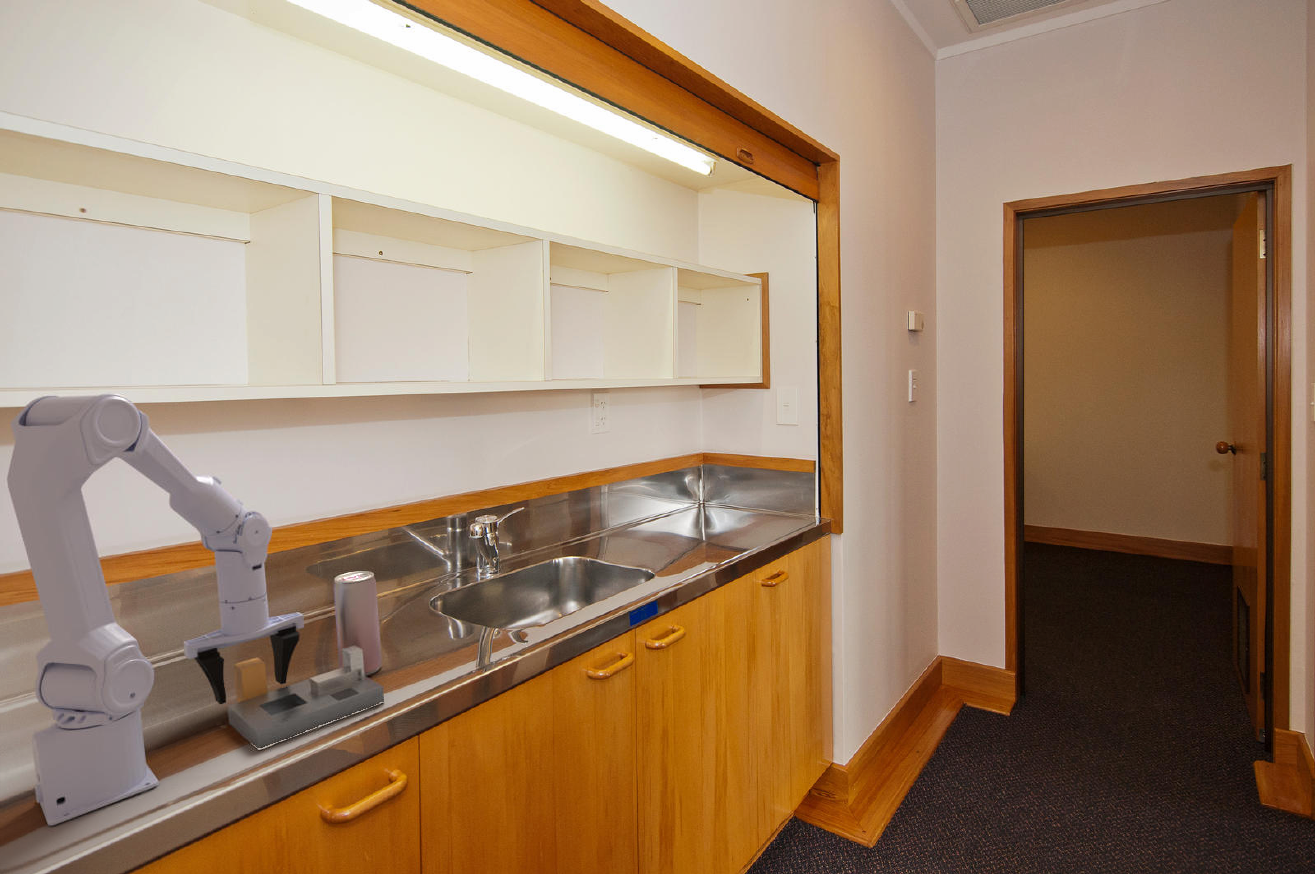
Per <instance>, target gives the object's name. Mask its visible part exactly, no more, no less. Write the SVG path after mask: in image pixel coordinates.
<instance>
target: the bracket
mask: <svg viewBox="0 0 1315 874" xmlns="http://www.w3.org/2000/svg"><path fill="white" fill-rule="evenodd" d="M342 655H343V667H342V668H340V667H339V668H337V669H334V670H331V671H327V672H325V673H324V672H323V673H321V674H318V675H315V676H313V677H309V679H310V685H311V691H312V692H313V693H315V694H316V695H318V696H320V695H322V694H325V693H328V692H331V691H334V690H337V689H340V688H342V687H345V686H348V685H351V684H354V683H357V682H360V681H362V680H365V676H364V663H363V650H362V649H360V648H358V647H356V646H352V647H348V648H345V649H342Z"/></svg>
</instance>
